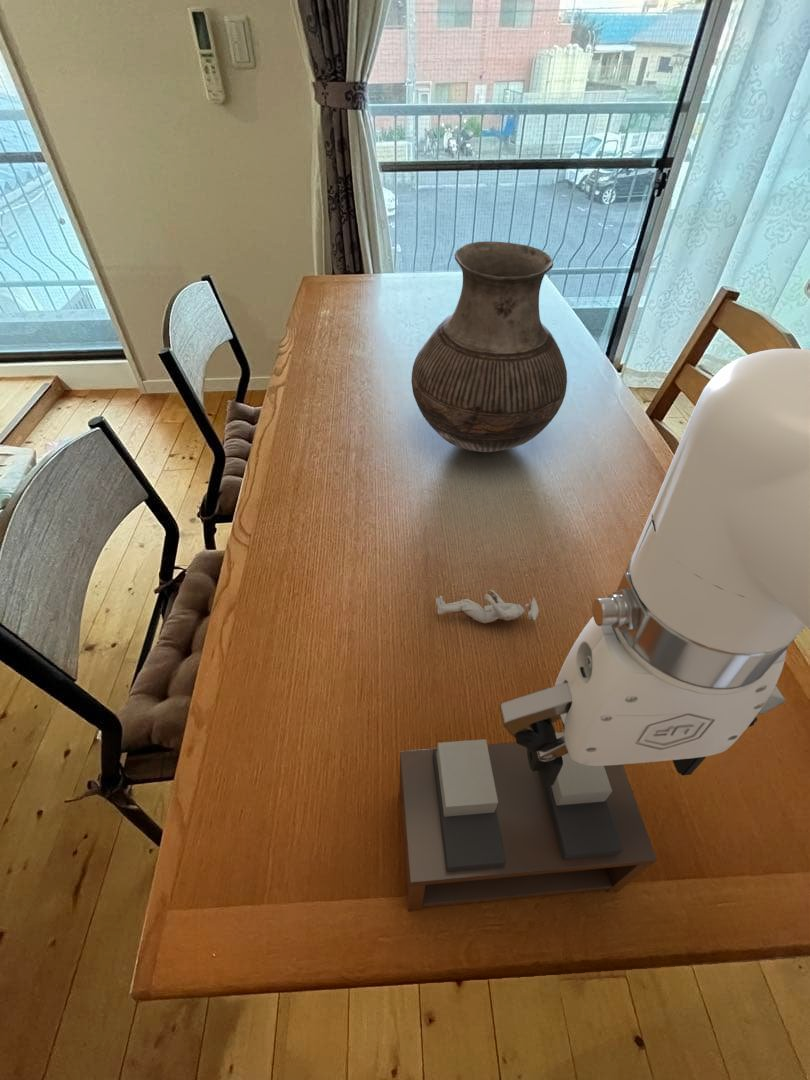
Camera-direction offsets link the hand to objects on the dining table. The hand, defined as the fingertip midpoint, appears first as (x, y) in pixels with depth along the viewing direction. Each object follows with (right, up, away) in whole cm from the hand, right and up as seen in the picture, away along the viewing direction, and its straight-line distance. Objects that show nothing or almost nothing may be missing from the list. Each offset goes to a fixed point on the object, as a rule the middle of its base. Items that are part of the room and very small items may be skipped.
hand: (608, 760), depth 39 cm
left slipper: (-9, -6, +6) cm, 13 cm away
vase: (-1, +33, +58) cm, 67 cm away
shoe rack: (-5, -13, +13) cm, 19 cm away
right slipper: (-1, -5, +6) cm, 8 cm away
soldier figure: (-4, +6, +31) cm, 32 cm away
